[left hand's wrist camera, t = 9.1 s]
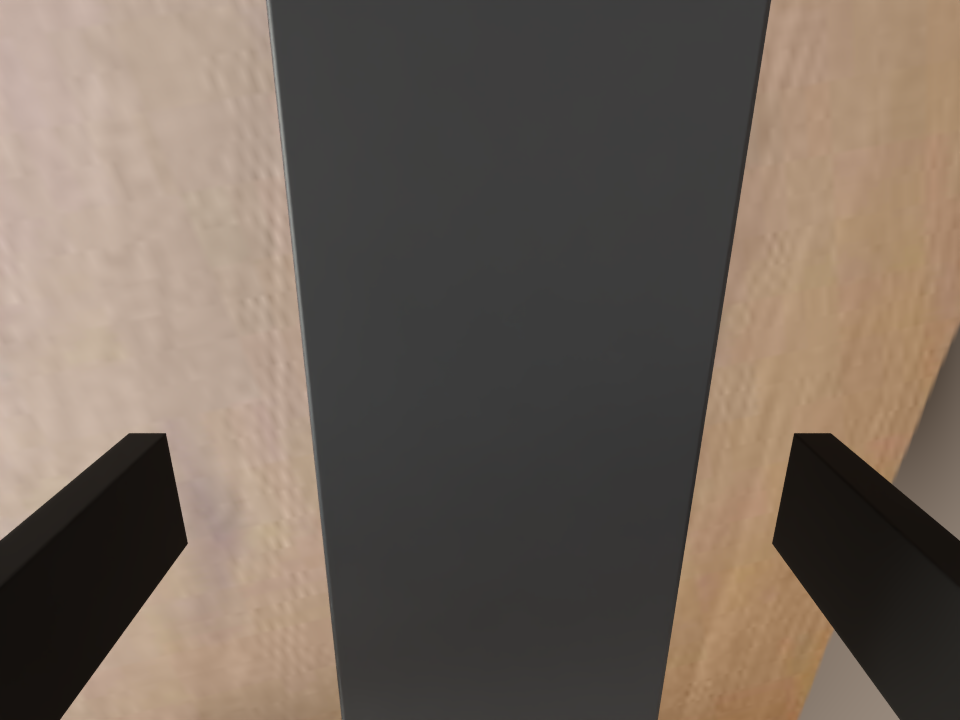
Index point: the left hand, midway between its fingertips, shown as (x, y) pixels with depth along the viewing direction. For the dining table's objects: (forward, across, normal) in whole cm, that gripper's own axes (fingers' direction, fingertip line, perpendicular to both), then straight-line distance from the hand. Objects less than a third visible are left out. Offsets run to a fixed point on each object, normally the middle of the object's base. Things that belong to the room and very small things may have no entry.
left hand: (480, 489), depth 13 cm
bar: (+4, 0, -10) cm, 10 cm away
